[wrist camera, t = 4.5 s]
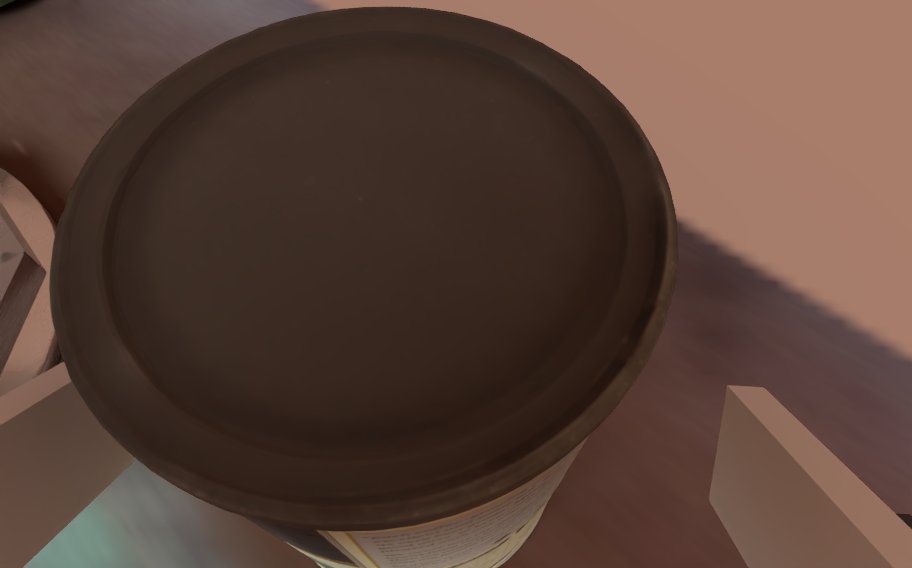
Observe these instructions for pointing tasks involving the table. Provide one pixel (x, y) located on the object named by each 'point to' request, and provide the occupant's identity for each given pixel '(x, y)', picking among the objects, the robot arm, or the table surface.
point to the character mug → (5, 2)
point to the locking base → (24, 286)
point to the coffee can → (367, 280)
